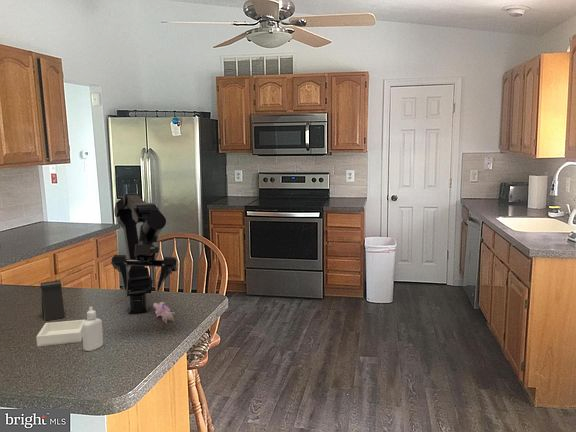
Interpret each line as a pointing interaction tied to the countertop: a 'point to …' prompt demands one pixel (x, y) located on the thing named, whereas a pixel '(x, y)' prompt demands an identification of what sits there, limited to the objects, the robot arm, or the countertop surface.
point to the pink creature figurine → (163, 312)
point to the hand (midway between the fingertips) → (142, 290)
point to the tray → (60, 333)
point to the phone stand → (52, 300)
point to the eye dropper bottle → (92, 331)
